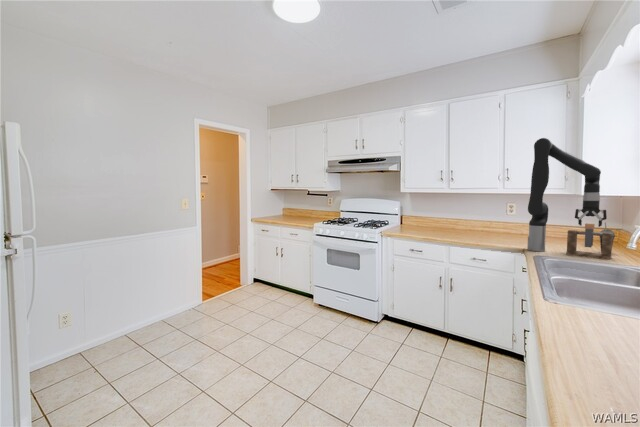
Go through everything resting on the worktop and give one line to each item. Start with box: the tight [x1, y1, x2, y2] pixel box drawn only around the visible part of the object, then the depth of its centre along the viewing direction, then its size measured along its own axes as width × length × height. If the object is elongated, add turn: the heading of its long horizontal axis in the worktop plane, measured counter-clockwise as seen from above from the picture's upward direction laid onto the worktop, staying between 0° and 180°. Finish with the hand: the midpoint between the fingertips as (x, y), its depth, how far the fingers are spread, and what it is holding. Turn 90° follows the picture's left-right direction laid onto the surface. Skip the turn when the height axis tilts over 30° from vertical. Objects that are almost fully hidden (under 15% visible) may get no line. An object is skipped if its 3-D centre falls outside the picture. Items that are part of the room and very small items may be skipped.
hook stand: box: [565, 229, 613, 260], centre depth 180 cm, size 20×10×15 cm, turn 42°
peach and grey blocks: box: [584, 222, 596, 248], centre depth 179 cm, size 4×9×14 cm, turn 132°
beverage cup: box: [599, 221, 616, 253], centre depth 186 cm, size 7×7×20 cm
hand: (589, 226), depth 179 cm, fingers open, 8 cm apart
